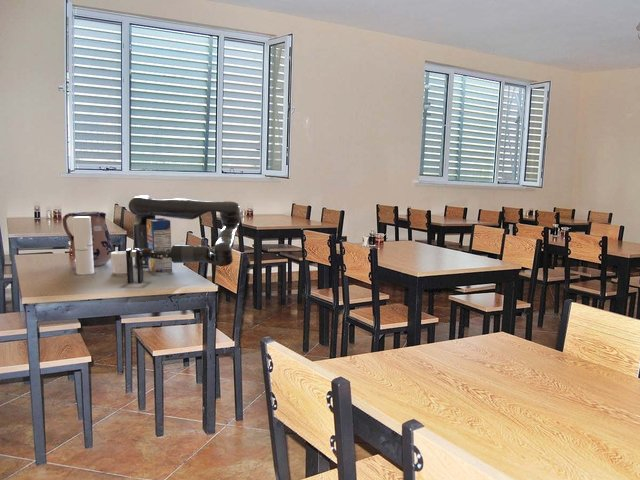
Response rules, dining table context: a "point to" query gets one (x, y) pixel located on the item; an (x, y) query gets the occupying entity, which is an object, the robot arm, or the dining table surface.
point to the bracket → (130, 266)
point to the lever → (133, 252)
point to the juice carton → (159, 243)
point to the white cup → (119, 262)
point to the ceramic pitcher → (94, 236)
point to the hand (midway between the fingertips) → (142, 253)
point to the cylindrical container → (83, 245)
